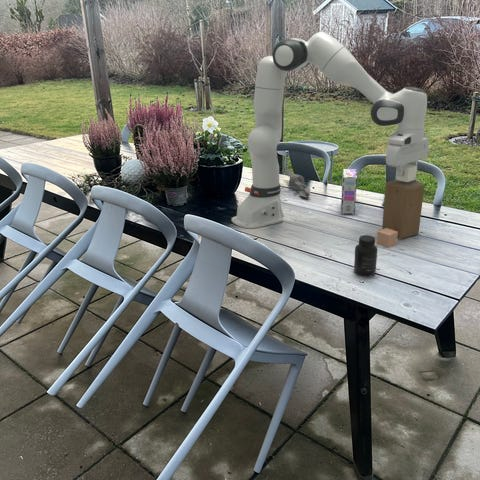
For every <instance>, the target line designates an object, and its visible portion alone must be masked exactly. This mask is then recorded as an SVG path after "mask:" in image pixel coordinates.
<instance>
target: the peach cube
mask: <svg viewBox="0 0 480 480" xmlns="http://www.w3.org/2000/svg"><path fill="white" fill-rule="evenodd" d="M397 236H398V232H397V231H394V230H391V229H388V228H385V229H382V228H381V230H377V233H376V242H375V245H379V246H381V247H383V248H386V249H389V248H392V247H394V246H397V244H398V238H397Z"/></svg>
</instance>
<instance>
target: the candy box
mask: <svg viewBox="0 0 480 480" xmlns="http://www.w3.org/2000/svg"><path fill="white" fill-rule="evenodd" d="M341 181H342V182H341V202H340V204H341V207H340V208H341V212H340V214H341V215H355V214H356V199H357V184H358V174H357V169H356V168H343V169H342V180H341Z"/></svg>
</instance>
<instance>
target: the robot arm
mask: <svg viewBox="0 0 480 480" xmlns="http://www.w3.org/2000/svg"><path fill="white" fill-rule="evenodd" d="M310 64H312V65H314V66H315V67H316V68H317V69H318V70H319V71H320V72H321V73H322V74H323V75H325V77H327V79H329V80H330V81H332V82H334V83H335V84H338V85H343V86H349V87H352V88H354V89H356V90H357V91H358V92H360V93H361V94H362V95H363V96H364V97H365V98H366V99H367V100H368V101H369V102H371V103H372V106H371V108H370V118H371V120H372V121H373V123H375V125H376V126H377V125H378V126H380V127H388V126H393V125H397V130H395V131H394V132H393V133H392V134H390V135H389V136H388V137H387V141H386V143H387V144H388V145H387V148H386V155H385V163H386V165H387V166H388V167H392V168H396V169H397V171H398V172H397V176H399V177H401V176H404V171H403V169H402V167H403V165H404V164H410V165H415V166H417V167H418V164H419V161H421V160H423V159H427V157H428V155H429V148H430V146H429V145H430V144H429V142H430V141H429V139H428V135H427V133H426V132H425V118H426V115H427V109H428V94H427V92H426V91H425V90H424V89H423V88H419V87H415V86H405V87H404V88H402V89H401V90H399V91H396V92H392V91H389V90H388V89H386V88H385V87H384V86H382V84H380V83H379V82H378V81H376V79H375V78H373V77H372V76H371V75H370V74H369V73H368V72H367V71H366V70H365V69H364V67H363V66H362V65H361V64H360V63H359V62H358V61H357V59H356V58H355V57H354V55H353V54H352V53H351V52H350V51H349V50H348V48H347V47H345V46H344V45H343V44H342V43H341V42H340V41H339V40H338V39H336V38H334V36H332V35H330V34H329V33H327V32H326V31H318V32H316V33H315V34H313V35H312V36H311V37H310V38H309V39H308V40H307V39H305V38H299V37H290V38H286V39H285V38H284V39H282V40H280V41H279V42H277V44H276V45H275V46H274V47H273V50H272V55H268V56H264V57H263V58H261V60H259V63H258V67H257V71H256V77H255V85H254V94H253V95H254V97H253V111H254V128H253V129H252V130H251V131H250V133H249V135H248V138H247V141H246V143H247V148H248V151H249V157H250V162H251V173H252V184H251V186H250V187H248V186H245V187H244V192H245V193H249V195H248V196H247V197H246V198H245V199H244V200H243V201H241V203H240V204H239V205H238V207H237V210H236V216H233V217H231V222H232V224H234V225H236V226H239V227H241V228H245V229H252V230H253V229H256V228H260V227H265V226H270V225H274V224H280V223H282V222H283V218H284V214H283V209H282V205H281V197H280V196H281V195H280V194H281V183H280V165H279V160H278V151H277V148H278V147H277V146H278V145H279V143H280V142H281V140H282V131H283V104H284V103H283V100H284V93H285V91H284V90H285V80H286V77H287V74H288V73H289V72H295V71H299V70H301V69H304V68H306V67H307V66H309V65H310Z"/></svg>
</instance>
